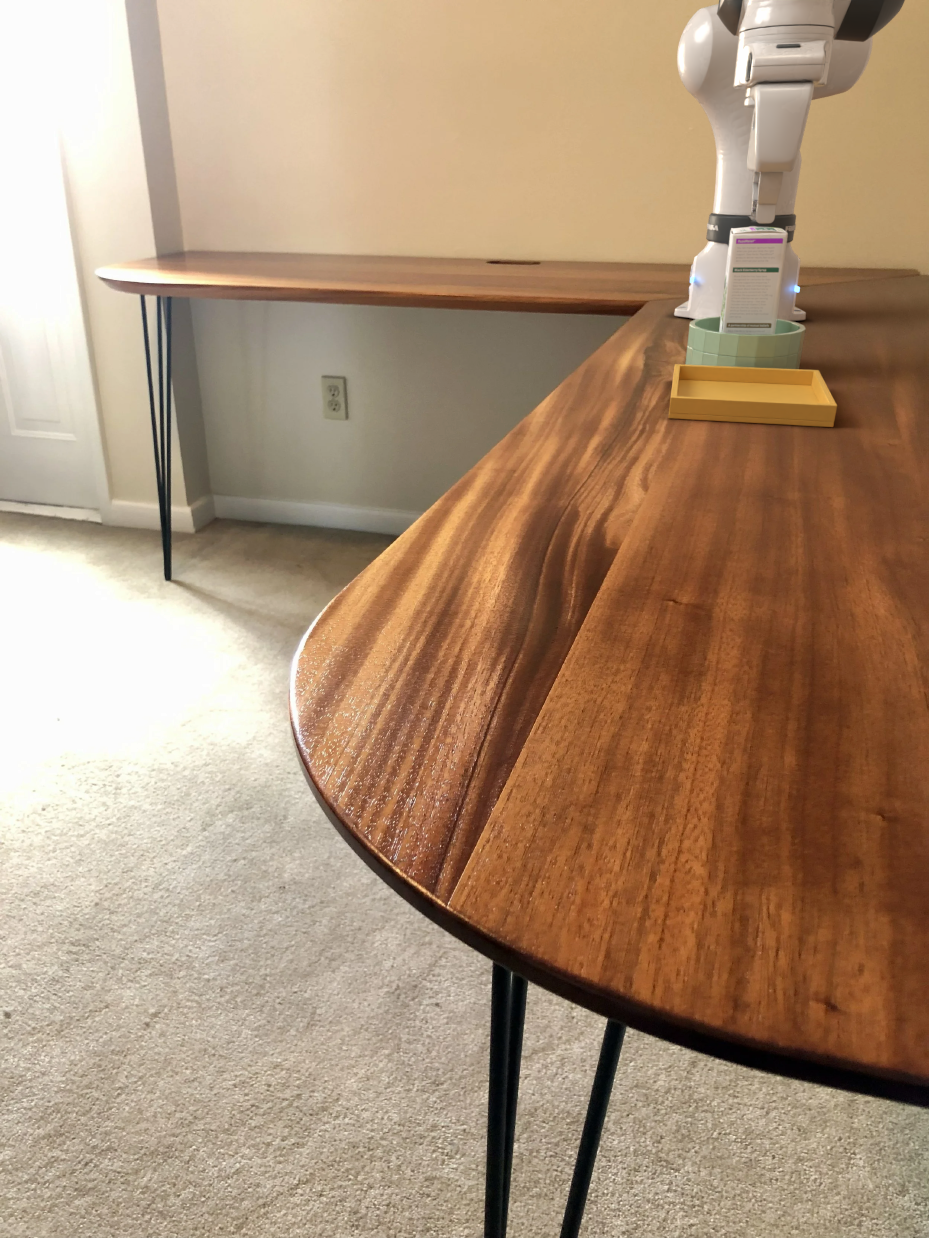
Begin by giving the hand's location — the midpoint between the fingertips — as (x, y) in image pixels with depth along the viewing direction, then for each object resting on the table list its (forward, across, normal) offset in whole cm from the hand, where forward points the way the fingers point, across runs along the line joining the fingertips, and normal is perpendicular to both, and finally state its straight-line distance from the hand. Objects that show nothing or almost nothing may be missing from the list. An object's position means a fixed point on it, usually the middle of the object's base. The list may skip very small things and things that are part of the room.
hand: (761, 220), depth 93 cm
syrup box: (+15, 0, 0) cm, 16 cm away
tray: (+16, +14, 0) cm, 22 cm away
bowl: (+16, 0, 0) cm, 16 cm away
